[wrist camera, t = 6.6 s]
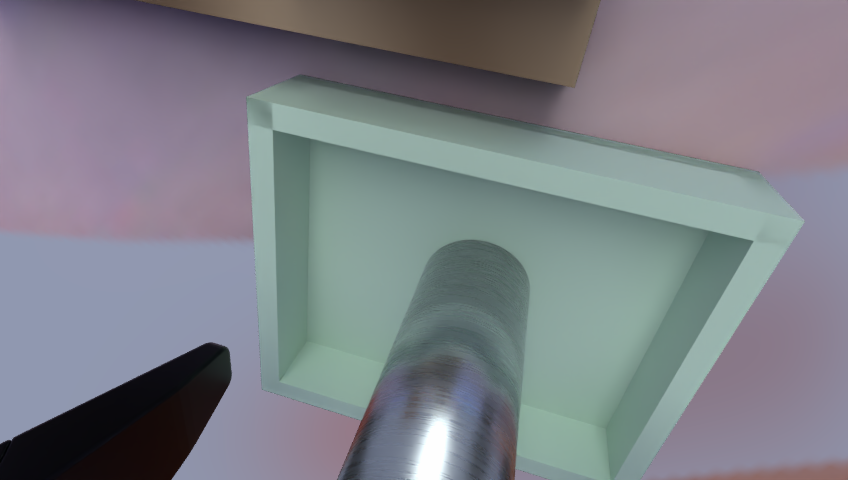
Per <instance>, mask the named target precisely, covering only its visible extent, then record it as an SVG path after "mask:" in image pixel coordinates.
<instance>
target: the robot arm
mask: <svg viewBox="0 0 848 480" xmlns="http://www.w3.org/2000/svg"><path fill="white" fill-rule="evenodd" d="M231 376H232V372H231V363H230V352H229V350H228V348H227V347H225V346H222V345H219V344H216V343H206V344H203V345H201V346H199V347H197V348H195V349H193V350H191V351H189V352H187V353H185V354H183V355H181V356H179V357H177V358H175V359H173V360H171V361H169V362H167V363H165V364H163V365H161V366H159V367H156V368H154V369H152V370H150V371H148V372H146V373H144V374H142V375H140V376H138V377H136V378H134V379H132V380H130V381H128V382H126V383H124V384H122V385H120V386H118V387H116V388H114V389H112V390H109V391H107V392H106V393H104V394H102V395H99V396H97V397H95V398H93V399H91V400H89V401H87V402H85V403H83V404H81V405H79V406H77V407H75V408H73V409H71V410H69V411H67V412H65V413H63V414H61V415H58V416H56V417H54V418H52V419H50V420H48V421H46V422H44V423H42V424H40V425H38V426H36V427H34V428H32V429H30V430H28V431H26V432H24V433H22V434H20V435H18V436H16V437H14V438H13V439H12V441H11V440H7V441H5V442H3V443H1V444H0V480H171V479H172V478H173V477H174V475H175V473H176V472H177V471H178V469H179V468H180V467H181V465H182V464H183V462H184V461H185V459H186V458H187V456H188V455H189V453H190V452H191V450H192V449H193V447H194V445H195V444H196V442H197V440H198V439H199V437H200V435H201V433H202V431H203V430H204V428H205V426H206V424H207V423H208V421H209V419H210V417H211V416H212V414H213V412H214V410H215V409H216V407H217V405H218V403H219V402H220V400H221V398H222V396H223V395H224V393H225V391H226V389H227V387H228V386H229V383H230V381H231Z"/></svg>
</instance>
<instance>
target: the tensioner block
mask: <svg viewBox="0 0 848 480" xmlns="http://www.w3.org/2000/svg"><path fill="white" fill-rule="evenodd" d="M136 1H142V2H147V3H152V4H157V5H162V6H167V7H172V8H177V9H182V10H187V11H192V12H197V13H202V14H207V15H212V16H217V17H222V18H227V19H232V20H237V21H242V22H247V23H252V24H257V25H262V26H267V27H272V28H277V29H282V30H287V31H292V32H297V33H302V34H307V35H312V36H317V37H322V38H327V39H332V40H337V41H342V42H347V43H352V44H357V45H362V46H367V47H372V48H377V49H382V50H387V51H392V52H397V53H402V54H407V55H412V56H417V57H422V58H427V59H433V60H438V61H443V62H448V63H453V64H458V65H463V66H468V67H473V68H478V69H483V70H488V71H493V72H498V73H503V74H508V75H513V76H518V77H523V78H528V79H533V80H538V81H543V82H548V83H553V84H558V85H563V86H568V87H573V88H575V84H576V81H577V78H578V74H579V71H580V68H581V64H582V61H583V58H584V54H585V51H586V47H587V44H588V41H589V37H590V34H591V31H592V27H593V24H594V21H595V17H596V14H597V11H598V7H599V4H600V1H601V0H136Z"/></svg>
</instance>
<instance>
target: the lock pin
mask: <svg viewBox="0 0 848 480" xmlns="http://www.w3.org/2000/svg"><path fill="white" fill-rule="evenodd" d="M529 296H530V282H529V278H528V275H527V273H526V270H525V269H524V267H523V266H522V264H521V263H520V262H519V260H518V259H517V258H516V257H515V256H514V255H512V254H511V253H510V252H508V251H507V250H505V249H504V248H502V247H500V246H498V245H495V244H493V243H490V242H486V241H481V240H461V241H456V242H452V243H449V244H447V245H445V246H443V247H441V248H440V249H438V250H437V251H436V252H435V253H434V254H433V255H432V256H431V257H430V259H429V260H428V262H427V264H426V266H425V268H424V271H423V273H422V276H421V278H420V281H419V283H418V285H417V288H416V290H415V293H414V295H413V297H412V300H411V302H410V305H409V307H408V310H407V312H406V314H405V317H404V319H403V322H402V324H401V326H400V329H399V331H398V334H397V336H396V339H395V341H394V343H393V346H392V348H391V351H390V353H389V355H388V358H387V360H386V363H385V365H384V367H383V370H382V372H381V375H380V377H379V380H378V382H377V384H376V387H375V389H374V392H373V394H372V396H371V399H370V401H369V404H368V406H367V409H366V411H365V413H364V416H363V418H362V421H361V423H360V425H359V428H358V430H357V433H356V435H355V438H354V440H353V442H352V445H351V447H350V450H349V452H348V455H347V457H346V459H345V462H344V464H343V467H342V469H341V471H340V474H339V476H338V479H337V480H514V477H515V467H516V454H517V442H518V430H519V418H520V406H521V393H522V381H523V369H524V357H525V345H526V333H527V320H528V308H529Z"/></svg>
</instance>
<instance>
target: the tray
mask: <svg viewBox="0 0 848 480" xmlns="http://www.w3.org/2000/svg"><path fill="white" fill-rule="evenodd" d="M246 101H247V120H248V139H249V158H250V177H251V195H252V214H253V233H254V252H255V271H256V290H257V308H258V327H259V346H260V365H261V384H262V390H265V391H268V392H271V393H274V394H278V395H281V396H284V397H287V398H291V399H293V400H297V401H300V402H303V403H306V404H309V405H313V406H316V407H319V408H322V409H325V410H329V411H332V412H335V413H338V414H341V415H345V416H348V417H351V418H354V419H357V420H361V421H362V418H363V416H364V413H365V411H366V409H367V406H368V404H369V401H370V399H371V396H372V394H373V392H374V389H375V387H376V384H377V382H378V380H379V377H380V375H381V372H382V370H383V367H384V365H385V363H386V360H387V358H388V355H389V353H390V351H391V348H392V346H393V343H394V341H395V339H396V336H397V334H398V331H399V329H400V326H401V324H402V322H403V319H404V317H405V314H406V312H407V310H408V307H409V305H410V302H411V300H412V297H413V295H414V293H415V290H416V288H417V285H418V283H419V281H420V278H421V276H422V273H423V271H424V268H425V266H426V264H427V262H428V260H429V259H430V257H431V256H432V255H433V254H434V253H435V252H436V251H437V250H438V249H440V248H441V247H443V246H445V245H447V244H449V243H452V242H456V241H461V240H481V241H486V242H490V243H493V244H495V245H498V246H500V247H502V248H504V249H505V250H507V251H508V252H510V253H511V254H512V255H514V256H515V257H516V258H517V259H518V260H519V262H520V263H521V264H522V266H523V267H524V269H525V270H526V273H527V275H528V278H529V282H530V296H529V308H528V320H527V333H526V345H525V357H524V369H523V381H522V393H521V406H520V418H519V430H518V442H517V454H516V467H515V469H518V470H521V471H524V472H527V473H530V474H533V475H536V476H540V477H543V478H546V479H550V480H641V478H642V477H643V475H644V474H645V472H646V470H647V469H648V467H649V466H650V464H651V463H652V461H653V459H654V458H655V456H656V455H657V453H658V452H659V450H660V448H661V447H662V445H663V444H664V442H665V441H666V439H667V437H668V436H669V434H670V433H671V431H672V429H673V428H674V426H675V425H676V423H677V422H678V420H679V419H680V417H681V415H682V414H683V412H684V411H685V409H686V408H687V406H688V404H689V403H690V401H691V400H692V398H693V397H694V395H695V393H696V392H697V390H698V389H699V387H700V385H701V384H702V382H703V381H704V379H705V378H706V376H707V375H708V373H709V371H710V370H711V368H712V367H713V365H714V363H715V362H716V360H717V359H718V357H719V356H720V354H721V352H722V351H723V349H724V348H725V346H726V345H727V343H728V342H729V340H730V338H731V337H732V335H733V333H734V332H735V331H736V329H737V327H738V326H739V324H740V322H741V321H742V319H743V318H744V316H745V315H746V313H747V312H748V310H749V309H750V307H751V305H752V304H753V302H754V301H755V299H756V298H757V296H758V294H759V293H760V291H761V290H762V288H763V286H764V285H765V283H766V282H767V280H768V279H769V277H770V276H771V274H772V272H773V271H774V269H775V268H776V266H777V265H778V263H779V261H780V260H781V258H782V257H783V255H784V254H785V252H786V250H787V249H788V247H789V246H790V244H791V242H792V241H793V239H794V238H795V236H796V235H797V233H798V231H799V230H800V228H801V227H802V225H803V224H804V222H805V221H804V220H803V219H802V218H801V217H800V216H799V215H798V213H797V212H796V211H795V210H794V209H793V208H792V207H791V206H790V205H789V204H788V203H787V202H786V201H785V200H784V199H783V197H782V196H781V195H780V194H779V193H778V192H777V191H776V190H775V189H774V188H773V187H772V186H771V185H770V184H769V183H768V181H767V180H766V179H765V178H764V177H763V176H762V175H761V174H760V173H759V172H757V171H752V170H748V169H743V168H738V167H734V166H729V165H724V164H719V163H715V162H710V161H705V160H701V159H696V158H691V157H686V156H682V155H677V154H672V153H668V152H663V151H658V150H653V149H649V148H644V147H639V146H635V145H630V144H625V143H620V142H616V141H611V140H606V139H602V138H597V137H592V136H587V135H583V134H578V133H573V132H569V131H564V130H559V129H554V128H550V127H545V126H540V125H536V124H531V123H526V122H521V121H517V120H512V119H507V118H503V117H498V116H493V115H488V114H484V113H479V112H474V111H470V110H465V109H460V108H455V107H451V106H446V105H441V104H437V103H432V102H427V101H422V100H418V99H413V98H408V97H404V96H399V95H394V94H389V93H385V92H380V91H375V90H371V89H366V88H361V87H356V86H352V85H347V84H342V83H338V82H333V81H328V80H323V79H319V78H314V77H309V76H305V75H298V76H295V77H293V78H290V79H288V80H286V81H283V82H281V83H278V84H276V85H274V86H271V87H269V88H267V89H264V90H262V91H259V92H257V93H255V94H252V95H250V96H247V97H246Z"/></svg>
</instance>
